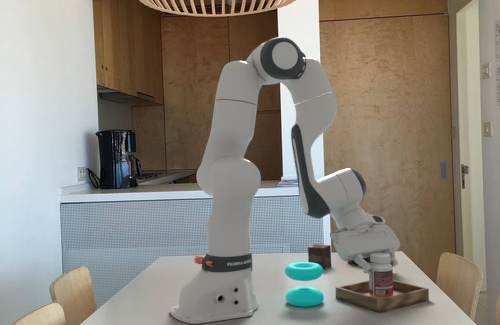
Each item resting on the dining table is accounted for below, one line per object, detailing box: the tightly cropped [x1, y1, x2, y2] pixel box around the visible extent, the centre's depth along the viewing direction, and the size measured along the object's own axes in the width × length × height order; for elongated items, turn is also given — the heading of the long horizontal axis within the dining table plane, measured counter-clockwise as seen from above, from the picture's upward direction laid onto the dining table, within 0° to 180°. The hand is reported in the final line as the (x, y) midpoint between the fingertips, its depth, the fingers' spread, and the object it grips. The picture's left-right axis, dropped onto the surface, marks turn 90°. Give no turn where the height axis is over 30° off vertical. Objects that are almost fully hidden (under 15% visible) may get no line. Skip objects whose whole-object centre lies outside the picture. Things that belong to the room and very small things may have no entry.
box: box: [307, 243, 332, 270], centre depth 180 cm, size 6×6×7 cm
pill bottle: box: [368, 253, 394, 299], centre depth 140 cm, size 6×6×11 cm
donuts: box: [284, 261, 325, 308], centre depth 139 cm, size 10×10×10 cm
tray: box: [335, 279, 430, 314], centre depth 140 cm, size 18×16×3 cm
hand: (382, 267), depth 139 cm, fingers open, 8 cm apart
